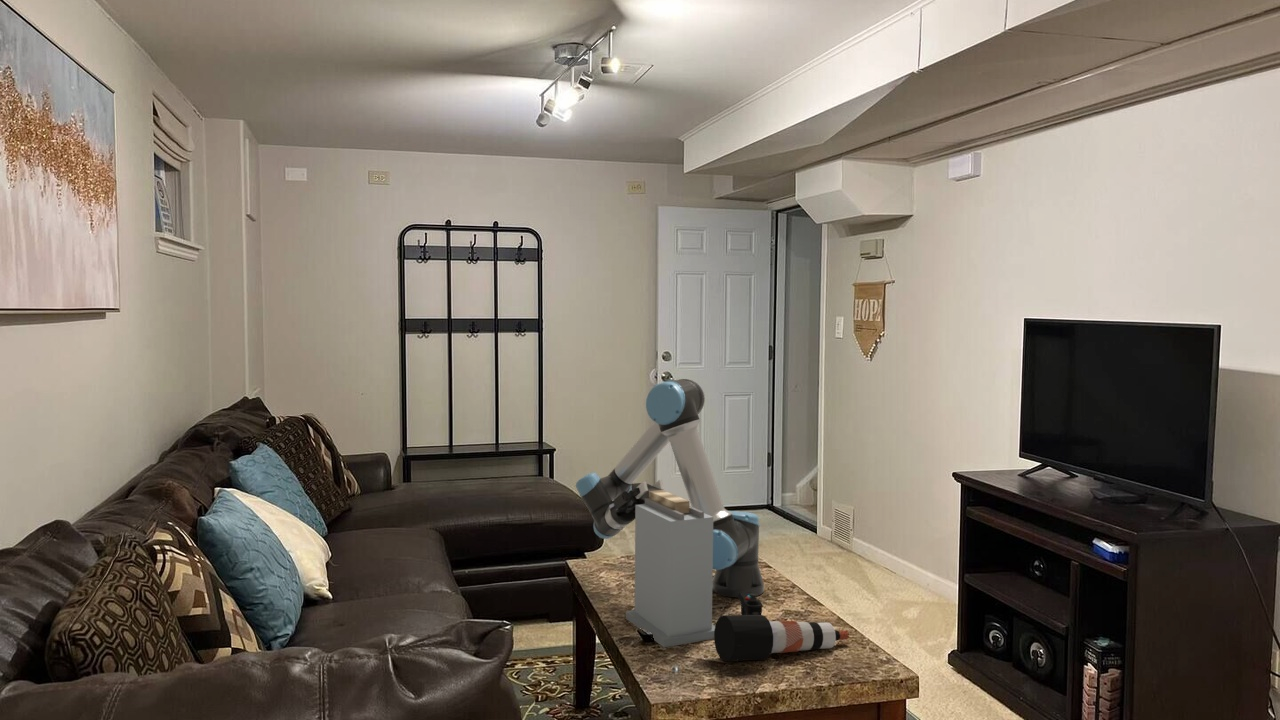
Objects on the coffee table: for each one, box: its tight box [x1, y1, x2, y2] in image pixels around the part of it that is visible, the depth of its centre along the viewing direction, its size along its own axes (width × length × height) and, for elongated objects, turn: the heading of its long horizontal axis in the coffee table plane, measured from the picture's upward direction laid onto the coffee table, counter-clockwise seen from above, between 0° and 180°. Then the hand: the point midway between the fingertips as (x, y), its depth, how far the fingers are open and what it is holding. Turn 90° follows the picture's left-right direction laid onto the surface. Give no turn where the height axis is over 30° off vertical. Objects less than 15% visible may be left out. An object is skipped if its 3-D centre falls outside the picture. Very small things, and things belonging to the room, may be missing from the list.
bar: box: [631, 482, 690, 514], centre depth 230 cm, size 26×4×3 cm, turn 25°
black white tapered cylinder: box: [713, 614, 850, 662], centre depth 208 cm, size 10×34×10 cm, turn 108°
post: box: [625, 498, 715, 648], centre depth 223 cm, size 22×16×32 cm
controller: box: [737, 592, 763, 615], centre depth 224 cm, size 4×12×10 cm, turn 6°
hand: (653, 485), depth 233 cm, fingers closed on bar, 4 cm apart
